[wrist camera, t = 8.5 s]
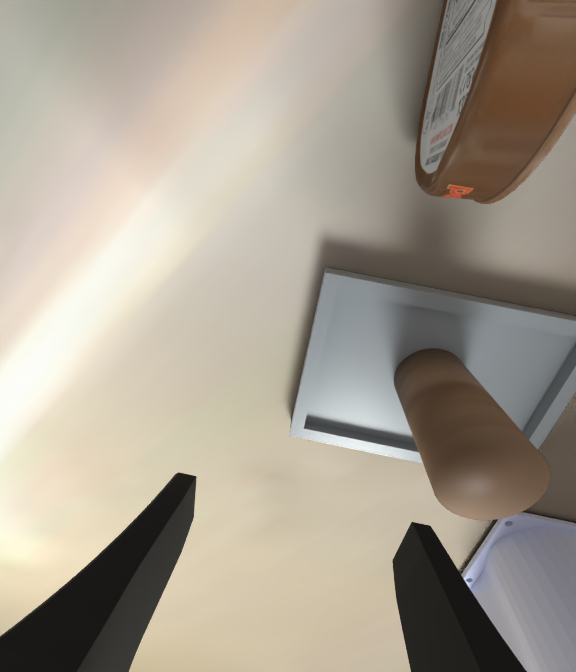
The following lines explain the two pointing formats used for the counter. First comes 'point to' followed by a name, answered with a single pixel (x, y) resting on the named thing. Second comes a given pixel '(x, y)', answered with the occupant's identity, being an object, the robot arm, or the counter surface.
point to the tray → (417, 334)
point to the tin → (495, 95)
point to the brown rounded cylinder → (467, 439)
